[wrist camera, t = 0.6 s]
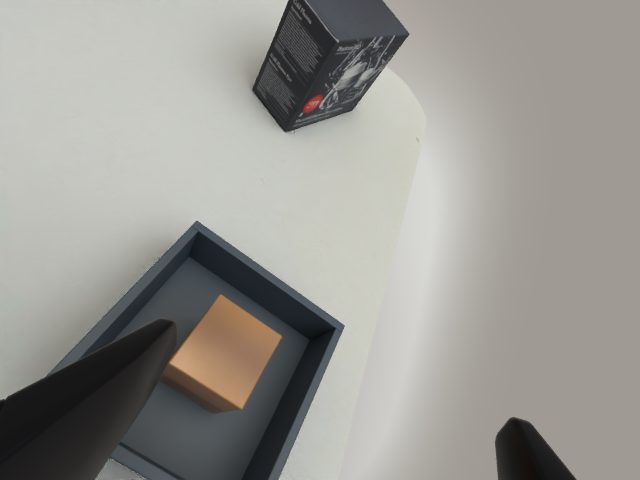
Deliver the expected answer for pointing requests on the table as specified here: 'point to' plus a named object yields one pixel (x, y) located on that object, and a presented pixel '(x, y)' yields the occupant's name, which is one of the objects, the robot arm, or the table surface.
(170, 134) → the table surface
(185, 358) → the block
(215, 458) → the bin
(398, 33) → the small box
